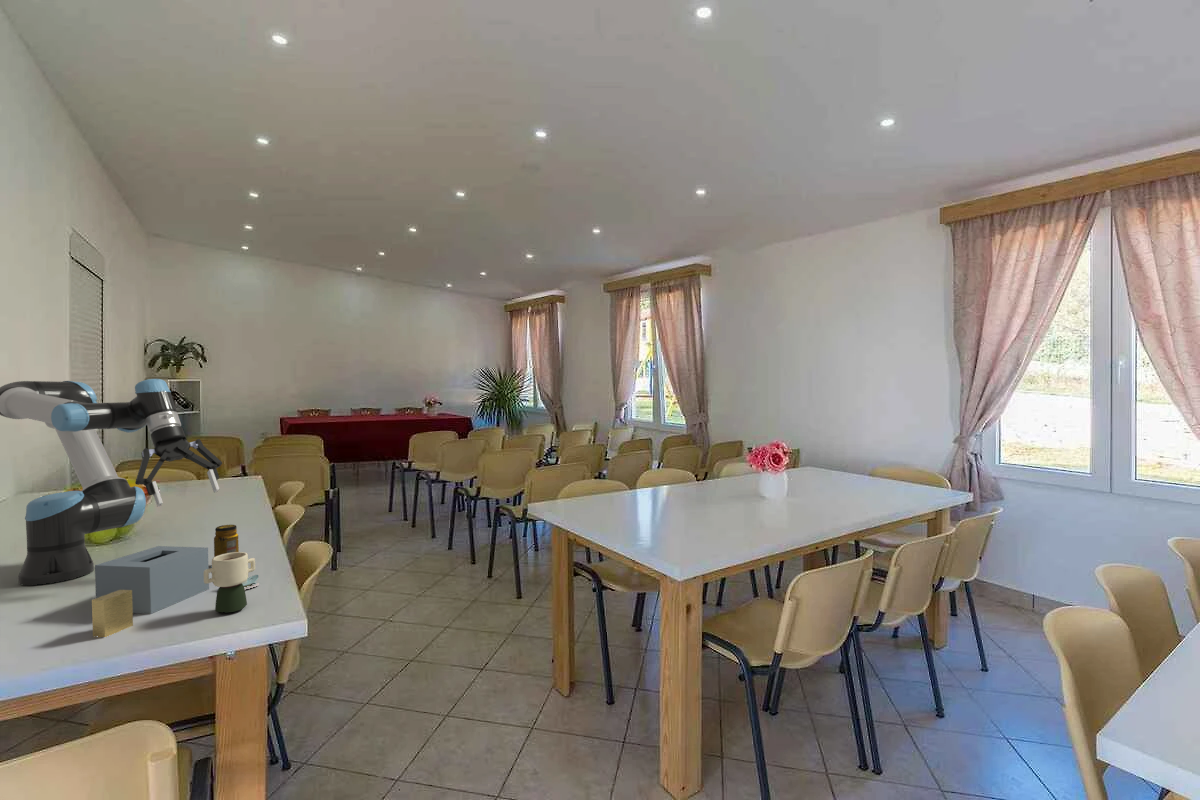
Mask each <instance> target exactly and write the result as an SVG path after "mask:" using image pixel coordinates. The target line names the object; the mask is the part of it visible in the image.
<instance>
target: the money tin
mask: <svg viewBox="0 0 1200 800" xmlns="http://www.w3.org/2000/svg"><path fill="white" fill-rule="evenodd" d="M206 569H210V567H209V547H205V546H204V547H203V546H201V547H199V546H171V545H170V546H168V545H166V546H165V545H158V546H154V547H150V548H147V549H144V550H141V551H138V552H137V551H136V552H134V553H131V554H128V555H125V556H121V557H117V558H115V559H111V560H108V561H104V562H100V563H98V564H94V581H95V583H94V584H95V599H96V598H98V597H101V596H104V595H107V594H110V593H112V592H115V591H118V590H132V607H133V614H146V615H148V614H149V615H152V614H155V613H156V612H157V613H158V611H161V610H164V609H166V608H168V607H170V606H174V605H176V604H177V603H180V602H182V601H185V600H187V599H189V598H191V596H192V597H194V596H197V595H198V593H199V594H200V592H201V593H203V592H205V590H206V591H207V589H208V590H210V583H207V584H205V583H204V570H206ZM202 591H203V592H202Z"/></svg>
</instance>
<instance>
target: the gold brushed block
mask: <svg viewBox="0 0 1200 800" xmlns="http://www.w3.org/2000/svg"><path fill="white" fill-rule="evenodd" d="M91 612H92V613H91V616H92V617H91V619H92V623H91V624H92V637H93V636H98V637H97V638H100V637H106V638H108V637H110V636H112V634H113V635H115V634H117V633H119V632H121V630H122V631H124V630H126V629H129V628H131V627H133V626H134V613H133V607H132V590H118V591H115V592H112V593H110V594H107V595H104V596H101V597H98V598H96V597H95V598H94V599H91ZM114 633H115V634H114ZM109 635H110V636H109ZM107 636H108V637H107Z"/></svg>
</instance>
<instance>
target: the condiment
mask: <svg viewBox="0 0 1200 800" xmlns="http://www.w3.org/2000/svg"><path fill="white" fill-rule="evenodd" d="M237 532H238V530H237V524H224V525H219V526H217V527H215V533H214V534H215V536H214V537H213V554H214V556H213V558H214V557H216V556H218V555H222V554H226V553H233V552H240V550H239V545H240V544H239V533H237Z"/></svg>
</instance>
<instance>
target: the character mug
mask: <svg viewBox="0 0 1200 800" xmlns="http://www.w3.org/2000/svg"><path fill="white" fill-rule="evenodd" d="M249 564H250V567H249ZM211 565H212V568H211V567H209V569H206V570H204V583H205V584H207V583H209V584H210V583H211V584H213V585H214V587H216V588H217V587H218V589H217V591H216V597H215V607H214V611H215V612H218V613H223V612H225V613H235V612H238V611H241V610H242V609H244V608H246V606H247V605H248V602H247V595H246V590H245V589H244V586H243V584H242V583H243V582H245V581H247V579H248V578H249V573H252V572H254V571H255V570H256V558H255V557H251V558H249V555H248V553H247V552H245V551H239V552H233V553H226V554H222V555H218V556H216V557H214V556H213V557H212V558H211ZM248 567H249V569H248ZM210 573H211V578H210Z"/></svg>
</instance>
